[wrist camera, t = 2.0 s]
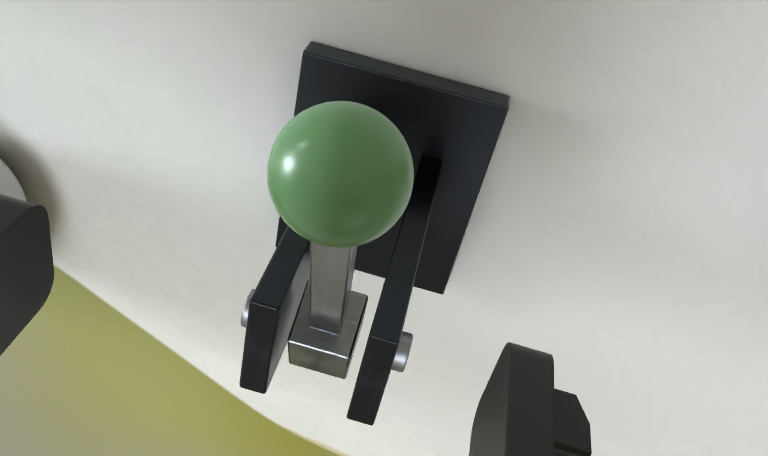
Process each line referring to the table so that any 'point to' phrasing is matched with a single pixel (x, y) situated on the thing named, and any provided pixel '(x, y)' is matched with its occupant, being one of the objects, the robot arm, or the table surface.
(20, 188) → the black egg-shaped dome
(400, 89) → the switch bracket
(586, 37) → the table surface
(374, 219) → the switch lever
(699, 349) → the table surface
